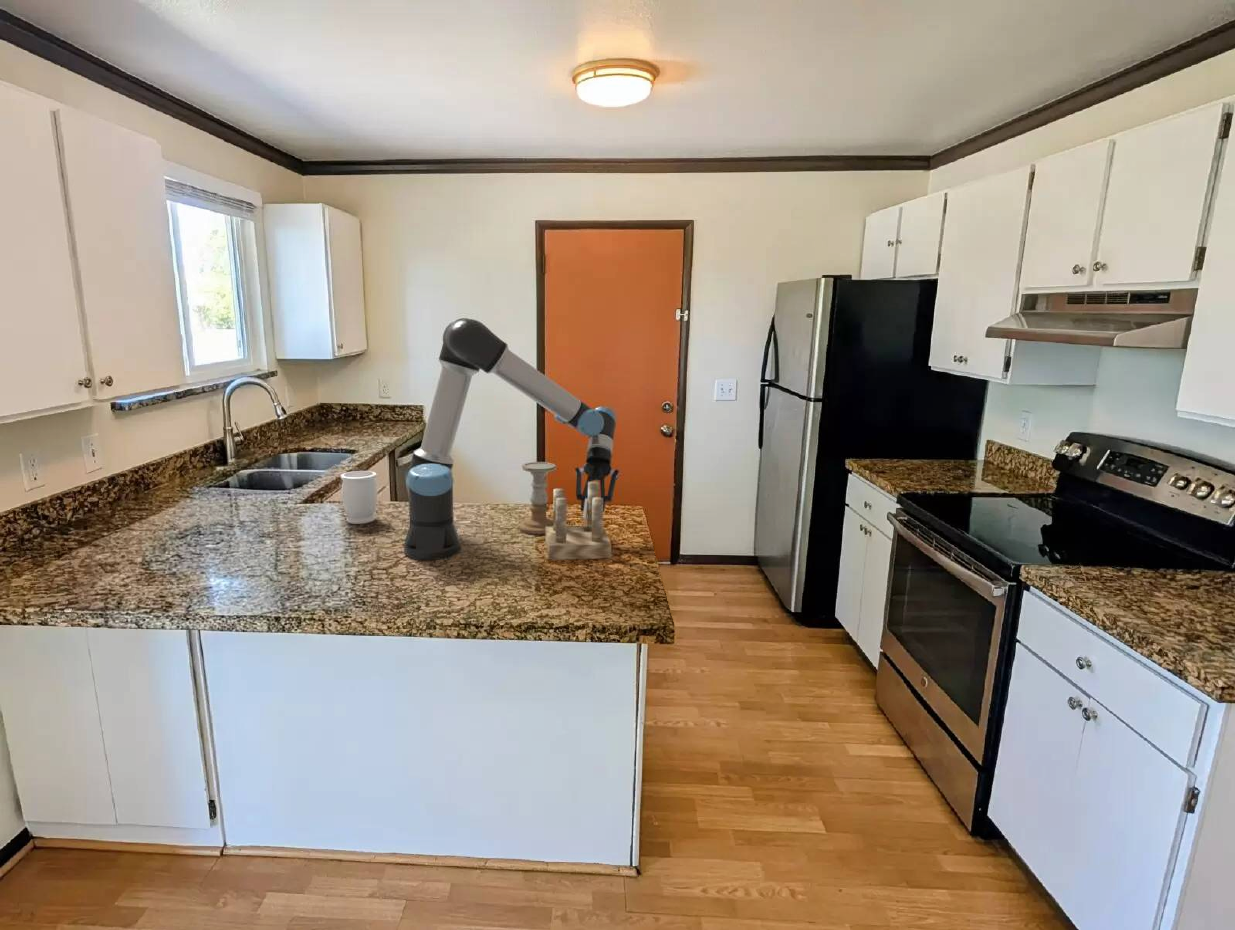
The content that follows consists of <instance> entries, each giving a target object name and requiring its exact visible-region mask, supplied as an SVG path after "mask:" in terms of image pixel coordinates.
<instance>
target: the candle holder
mask: <svg viewBox="0 0 1235 930" xmlns="http://www.w3.org/2000/svg"><path fill="white" fill-rule="evenodd" d="M521 469H522V470H523V471H525V472H529V473H530V475H531V476H532V479H533V480H532V481H531V482H530V485H531V486H532V490H531V494H530V496H529V501H530V503H531V504H530V505H529V509H528V510H530V511H531V516H530V517H527V518H525V519H524V520H522V521H520V523H518V529H519V531H520V532H522V533H525V534H528V535H545V528H546V526H553V518H550V517H547V511H548V510H549V506H548V505H547V502H548V500H549V498H548V495H547V491H546V486H547V485H548V482H546V479H545V477H546V476H547V475H548V473H549V472H553V471H555V470H557V465H556V464H554V463H552V462H547V461H546V462H545V461H533V462H525V463H523V464H522V465H521Z"/></svg>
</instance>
